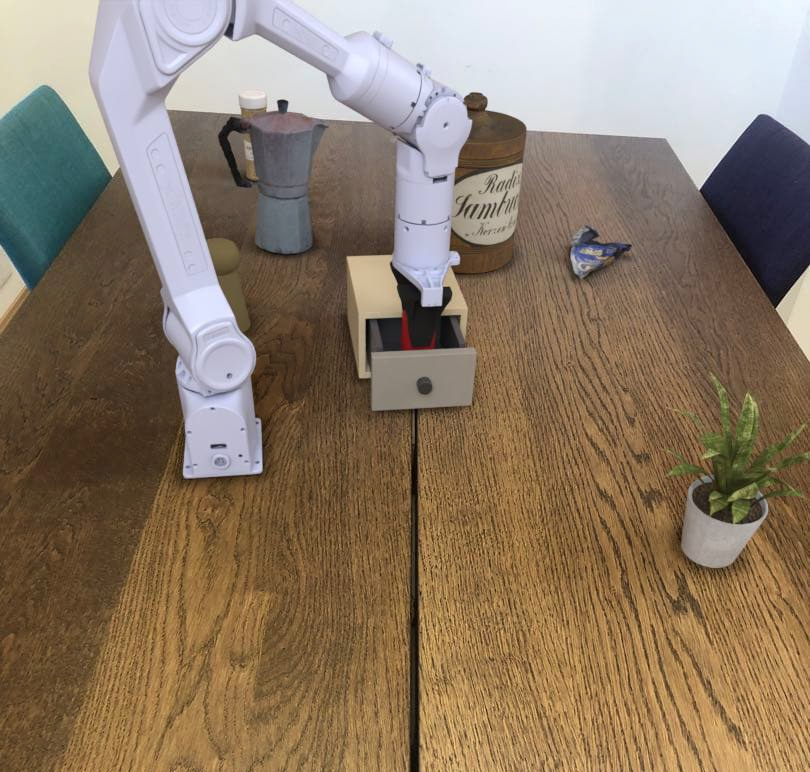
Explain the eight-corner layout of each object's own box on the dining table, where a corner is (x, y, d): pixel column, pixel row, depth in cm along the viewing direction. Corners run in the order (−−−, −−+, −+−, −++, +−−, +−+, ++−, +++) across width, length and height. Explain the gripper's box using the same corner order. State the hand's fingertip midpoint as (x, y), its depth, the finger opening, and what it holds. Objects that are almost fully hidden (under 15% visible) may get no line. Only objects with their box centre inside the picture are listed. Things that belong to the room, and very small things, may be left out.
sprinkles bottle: (251, 183, 141) (243, 98, 132) (242, 174, 144) (234, 90, 135) (276, 179, 143) (270, 95, 134) (267, 170, 146) (260, 87, 137)
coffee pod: (437, 354, 91) (439, 322, 88) (403, 356, 91) (404, 323, 88) (431, 337, 94) (433, 305, 91) (398, 338, 93) (399, 306, 91)
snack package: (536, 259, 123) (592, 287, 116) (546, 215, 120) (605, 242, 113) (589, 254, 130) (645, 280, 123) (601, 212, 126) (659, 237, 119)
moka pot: (340, 250, 123) (337, 106, 109) (239, 264, 119) (223, 115, 105) (321, 225, 129) (316, 86, 116) (225, 238, 125) (207, 94, 111)
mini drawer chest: (462, 373, 99) (468, 308, 93) (359, 378, 98) (358, 312, 92) (441, 314, 110) (445, 252, 104) (347, 318, 108) (346, 256, 102)
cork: (241, 339, 103) (231, 255, 96) (196, 333, 104) (182, 249, 97) (257, 316, 108) (248, 234, 100) (213, 311, 108) (202, 229, 101)
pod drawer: (473, 411, 92) (479, 358, 87) (373, 417, 90) (373, 363, 86) (449, 344, 102) (453, 294, 98) (359, 348, 101) (359, 297, 96)
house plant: (595, 510, 82) (631, 368, 70) (710, 482, 85) (762, 343, 74) (677, 611, 72) (734, 466, 61) (803, 575, 76) (879, 431, 65)
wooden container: (459, 284, 116) (473, 117, 101) (394, 247, 124) (398, 88, 109) (532, 257, 123) (555, 98, 108) (466, 225, 132) (478, 72, 116)
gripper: (477, 243, 77) (465, 368, 87) (449, 186, 88) (441, 303, 97) (403, 245, 76) (399, 371, 86) (384, 187, 87) (382, 305, 96)
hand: (417, 335), depth 91 cm, fingers closed on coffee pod, 4 cm apart
